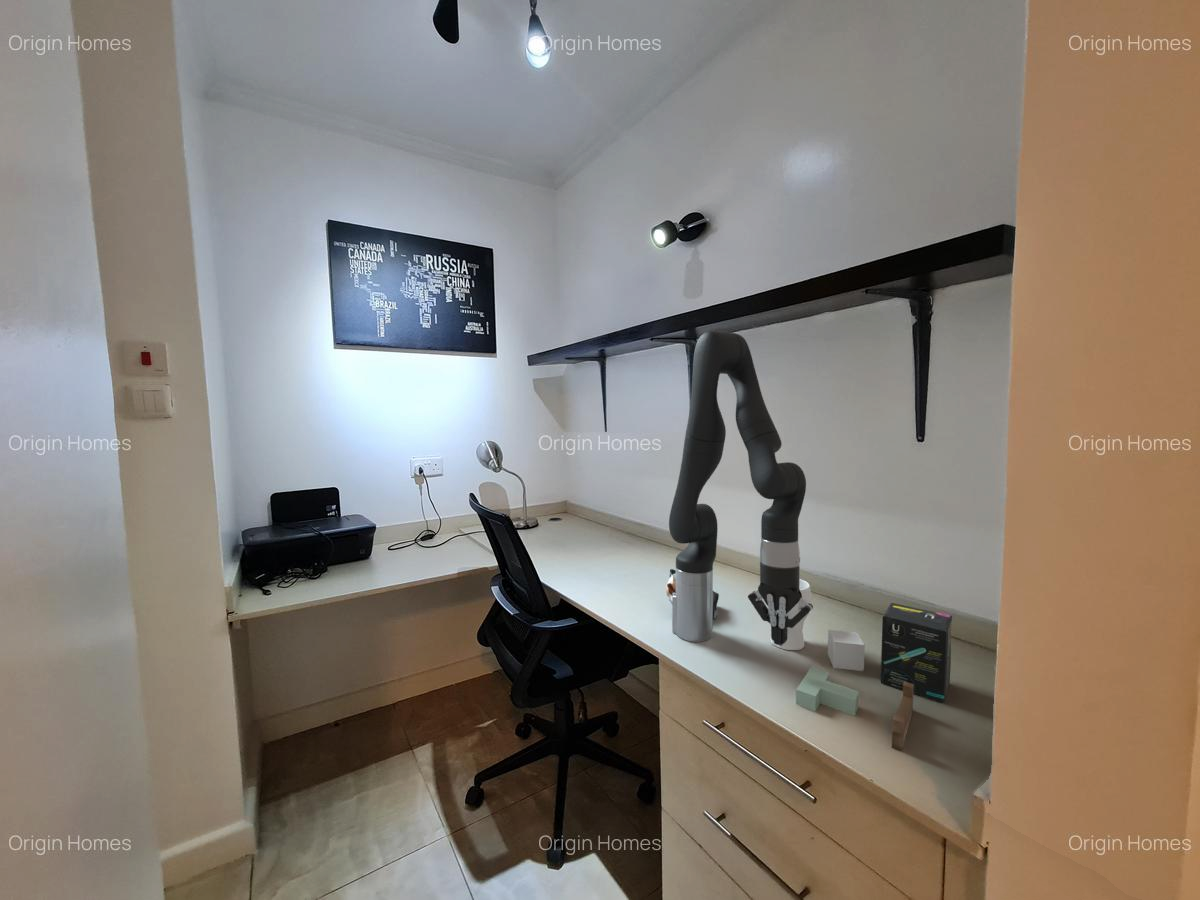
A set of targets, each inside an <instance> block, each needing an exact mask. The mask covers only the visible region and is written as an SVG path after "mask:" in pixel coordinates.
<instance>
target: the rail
mask: <svg viewBox="0 0 1200 900" xmlns="http://www.w3.org/2000/svg"><path fill="white" fill-rule="evenodd" d="M913 690H914V684H911V683H908V682H905V681H904V684H903V690H902V696H901V700H900V703H899V706H898V709H897V714H893V717H892V724H891V726H892V727H891V749H894V750H897V751H900V752H903V749H904V746H905V742H906V737H907V735H908V734H907V733H908V730H909V725H910V722H911V718H912V714H913V710H914V694H913Z"/></svg>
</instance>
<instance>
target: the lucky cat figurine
mask: <svg viewBox="0 0 1200 900" xmlns="http://www.w3.org/2000/svg"><path fill="white" fill-rule="evenodd" d="M669 572H670V573H669V577H668V581H667V583H666V585H665V591H666V596H667V599H668V601H669V602H670V604H672V597H673V596H674V595H675V594H676V569H672V568H671V569H669ZM719 594H720V593H718V592H717V591H714V590H713V618H712V621H713V620H715V619H716V618H717V616H718V615H719V611H718V608H717V607H718V601H719V597H720V595H719Z"/></svg>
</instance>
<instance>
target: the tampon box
mask: <svg viewBox="0 0 1200 900" xmlns="http://www.w3.org/2000/svg"><path fill="white" fill-rule="evenodd" d="M952 619H953V615H951V614H950V615H949V614H946V613H941V612H936V611H931V610H926V609H923V608H917V607H912V606H908V605H903V604H899V603H896V602H895V603H894V602H890V603H889V605H888V607H887V608H886V610H885V612H884V613H883V615H882V623H881V625H882V627H881V629H882V630H881V633H882V634H881V652H880V653H881V655H880V683H881V684H882V685H885V686H887V687H888V686H889V687H892V688H895V689H898V690H901V691H903V684H904V681H905V682H908V683H911V684H914V690H913V695H916V696H920V697H923V698H927V699H929V700H932V701H936V702H939V703H945V699H946V696H947V693H948V689H949V685H950V682H951V665H952V664H951V659H952V658H951V657H952V639H951V638H952Z"/></svg>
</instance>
